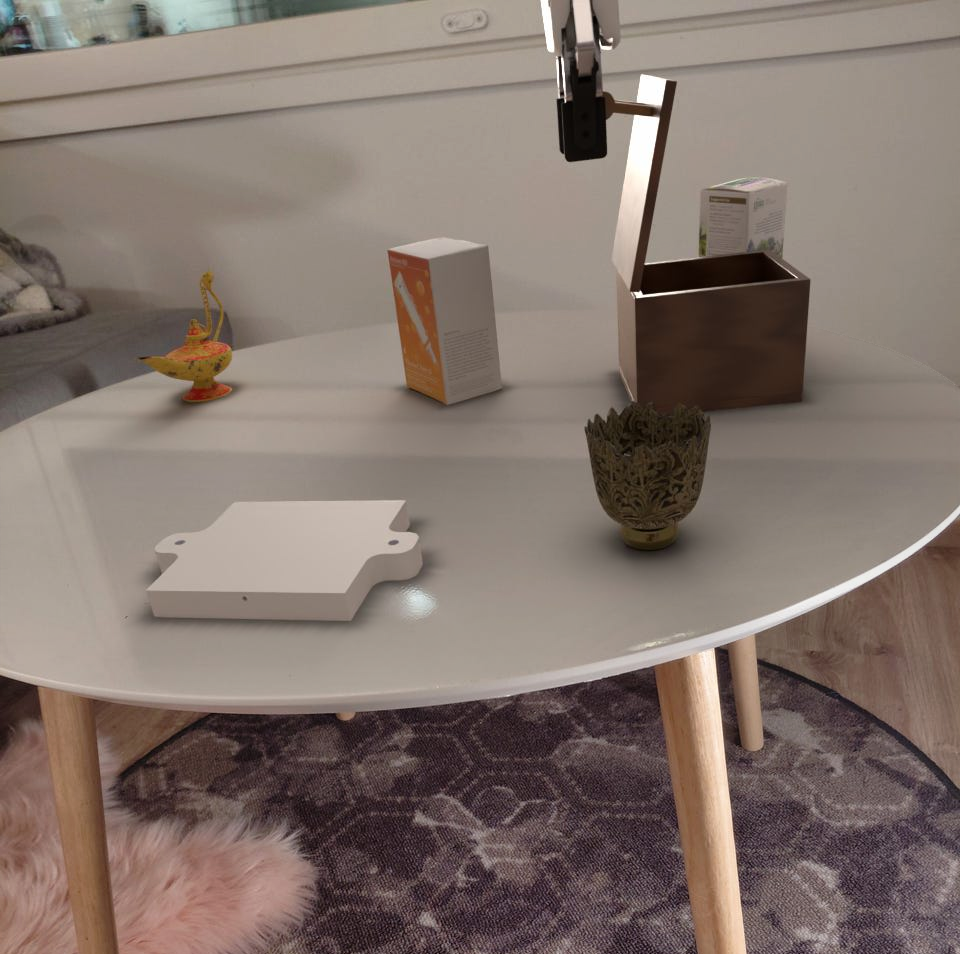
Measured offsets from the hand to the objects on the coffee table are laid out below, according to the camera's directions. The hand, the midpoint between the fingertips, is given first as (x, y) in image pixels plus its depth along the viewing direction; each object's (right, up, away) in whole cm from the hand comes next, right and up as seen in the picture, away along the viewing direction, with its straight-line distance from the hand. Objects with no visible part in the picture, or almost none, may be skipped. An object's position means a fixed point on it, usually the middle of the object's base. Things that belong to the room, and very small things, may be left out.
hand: (582, 153), depth 76 cm
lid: (+5, -2, +1) cm, 5 cm away
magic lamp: (-37, -14, +23) cm, 46 cm away
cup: (+3, -32, -14) cm, 35 cm away
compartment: (+12, -16, +10) cm, 22 cm away
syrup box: (+18, -9, +21) cm, 29 cm away
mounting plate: (-21, -34, -12) cm, 41 cm away
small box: (-11, -14, +17) cm, 25 cm away
